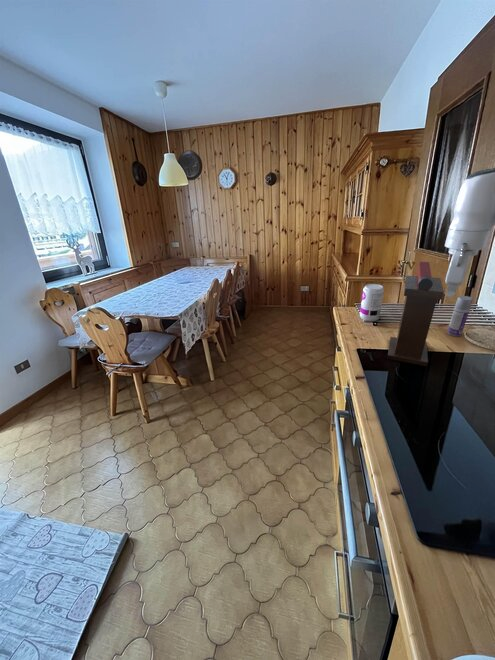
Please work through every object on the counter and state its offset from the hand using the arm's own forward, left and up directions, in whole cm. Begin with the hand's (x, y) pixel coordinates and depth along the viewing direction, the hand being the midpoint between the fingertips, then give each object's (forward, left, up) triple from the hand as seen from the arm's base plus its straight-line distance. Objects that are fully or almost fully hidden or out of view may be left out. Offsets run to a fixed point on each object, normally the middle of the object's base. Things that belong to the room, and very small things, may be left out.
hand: (451, 290), depth 80 cm
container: (+17, -27, -27) cm, 42 cm away
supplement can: (+40, -5, -27) cm, 48 cm away
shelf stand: (+11, -1, -27) cm, 29 cm away
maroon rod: (+14, -3, -1) cm, 14 cm away
